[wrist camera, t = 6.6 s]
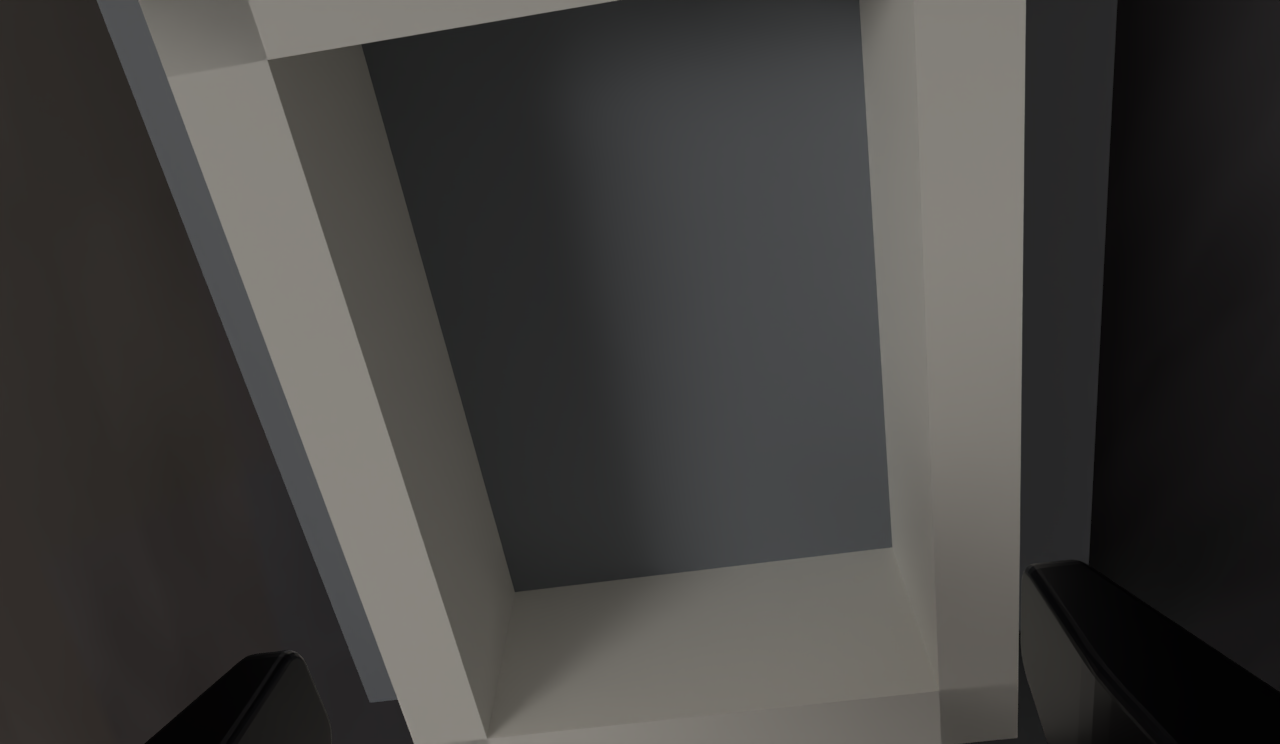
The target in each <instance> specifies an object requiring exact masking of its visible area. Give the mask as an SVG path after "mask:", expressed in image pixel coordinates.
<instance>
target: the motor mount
mask: <svg viewBox="0 0 1280 744" xmlns="http://www.w3.org/2000/svg"><path fill="white" fill-rule="evenodd" d="M97 2H98V5H99V8H100V10H101V13H102V15H103V18H104V20H105V23H106V26H107V28H108V31H109V33H110V36H111V38H112V41H113V44H114V46H115V49H116V51H117V54H118V56H119V59H120V62H121V64H122V67H123V69H124V72H125V74H126V77H127V80H128V82H129V85H130V87H131V90H132V92H133V95H134V98H135V100H136V103H137V105H138V108H139V110H140V113H141V115H142V118H143V121H144V123H145V126H146V128H147V131H148V133H149V136H150V139H151V141H152V144H153V146H154V149H155V151H156V154H157V157H158V159H159V162H160V164H161V167H162V169H163V172H164V175H165V177H166V180H167V182H168V185H169V187H170V190H171V193H172V195H173V198H174V200H175V203H176V205H177V208H178V211H179V213H180V216H181V218H182V221H183V223H184V226H185V229H186V231H187V234H188V236H189V239H190V241H191V244H192V247H193V249H194V252H195V254H196V257H197V259H198V262H199V265H200V267H201V270H202V272H203V275H204V277H205V280H206V283H207V285H208V288H209V290H210V293H211V295H212V298H213V301H214V303H215V306H216V308H217V311H218V313H219V316H220V319H221V321H222V324H223V326H224V329H225V331H226V334H227V337H228V339H229V342H230V344H231V347H232V349H233V352H234V355H235V357H236V360H237V362H238V365H239V367H240V370H241V373H242V375H243V378H244V380H245V383H246V385H247V388H248V391H249V393H250V396H251V398H252V401H253V403H254V406H255V409H256V411H257V414H258V416H259V419H260V421H261V424H262V427H263V429H264V432H265V434H266V437H267V439H268V442H269V445H270V447H271V450H272V452H273V455H274V457H275V460H276V462H277V465H278V468H279V470H280V473H281V475H282V478H283V480H284V483H285V486H286V488H287V491H288V493H289V496H290V498H291V501H292V504H293V506H294V509H295V511H296V514H297V516H298V519H299V522H300V524H301V527H302V529H303V532H304V534H305V537H306V540H307V542H308V545H309V547H310V550H311V552H312V555H313V558H314V560H315V563H316V565H317V568H318V570H319V573H320V576H321V578H322V581H323V583H324V586H325V588H326V591H327V594H328V596H329V599H330V601H331V604H332V606H333V609H334V612H335V614H336V617H337V619H338V622H339V624H340V627H341V630H342V632H343V635H344V637H345V640H346V642H347V645H348V648H349V650H350V653H351V655H352V658H353V660H354V663H355V666H356V668H357V671H358V673H359V676H360V678H361V681H362V684H363V686H364V689H365V691H366V694H367V696H368V699H369V702H379V701H388V700H397V699H398V701H399V704H400V707H401V710H402V712H403V715H404V718H405V720H406V723H407V726H408V728H409V731H410V734H411V736H412V739H413V742H414V744H962V743H971V742H981V741H991V740H1001V739H1011V738H1018V656H1019V631H1021V581H1022V575H1023V572H1024V569H1026V568H1027V567H1028V566H1029V565H1030V564H1034V563H1043V562H1052V561H1060V560H1069V559H1073V560H1079V561H1082V562H1084V563H1086V564H1088V565H1089V550H1090V530H1091V510H1092V491H1093V471H1094V451H1095V431H1096V412H1097V392H1098V372H1099V352H1100V333H1101V313H1102V293H1103V273H1104V254H1105V234H1106V214H1107V195H1108V175H1109V155H1110V135H1111V116H1112V96H1113V76H1114V56H1115V37H1116V17H1117V0H97Z"/></svg>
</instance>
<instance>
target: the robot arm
mask: <svg viewBox="0 0 1280 744" xmlns="http://www.w3.org/2000/svg"><path fill="white" fill-rule="evenodd" d="M1021 653H1022V659H1023V665H1024V669H1025V673H1026V676H1027V680H1028V683H1029V686H1030V689H1031V692H1032V696H1033V699H1034V702H1035V705H1036V708H1037V711H1038V715H1039V718H1040V721H1041V724H1042V727H1043V730H1044V734H1045V737H1046V740H1047V743H1048V744H1280V692H1279V691H1277V690H1276V689H1274V688H1273V687H1271V686H1270V685H1268V684H1267V683H1265V682H1264V681H1262V680H1261V679H1259V678H1258V677H1256V676H1255V675H1253V674H1252V673H1250V672H1249V671H1247V670H1246V669H1244V668H1243V667H1241V666H1240V665H1238V664H1237V663H1235V662H1234V661H1232V660H1231V659H1229V658H1228V657H1226V656H1225V655H1223V654H1222V653H1220V652H1219V651H1217V650H1216V649H1214V648H1213V647H1211V646H1210V645H1208V644H1207V643H1205V642H1204V641H1202V640H1201V639H1199V638H1197V637H1196V636H1194V635H1193V634H1191V633H1190V632H1188V631H1187V630H1185V629H1184V628H1182V627H1181V626H1179V625H1178V624H1176V623H1175V622H1173V621H1172V620H1170V619H1169V618H1167V617H1166V616H1164V615H1163V614H1161V613H1160V612H1158V611H1157V610H1155V609H1154V608H1152V607H1151V606H1149V605H1148V604H1146V603H1145V602H1143V601H1142V600H1140V599H1139V598H1137V597H1136V596H1134V595H1133V594H1131V593H1130V592H1128V591H1127V590H1125V589H1124V588H1122V587H1121V586H1119V585H1118V584H1116V583H1115V582H1113V581H1112V580H1110V579H1109V578H1107V577H1106V576H1104V575H1103V574H1101V573H1100V572H1098V571H1097V570H1095V569H1094V568H1092V567H1091V566H1089V565H1088V564H1086V563H1084V562H1082V561H1079V560H1073V559H1069V560H1060V561H1052V562H1043V563H1034V564H1030V565H1029V566H1028V567H1027V568H1026V569H1024V572H1023V575H1022V581H1021ZM145 744H332V732H331V725H330V721H329V718H328V715H327V713H326V710H325V708H324V706H323V703H322V701H321V698H320V696H319V694H318V691H317V689H316V686H315V684H314V682H313V679H312V677H311V675H310V672H309V670H308V667H307V665H306V663H305V661H304V659H303V658H302V657H301V656H300V655H299V654H298V653H297V652H294V651H291V650H285V651H277V652H268V653H259V654H254V655H250V656H247V657H245V658H244V659H242V660H241V661H240V662H238V663H237V664H236V665H235V666H234V667H233V668H231V669H230V670H229V671H228V672H227V673H226V674H225V675H223V676H222V677H221V678H220V679H219V680H218V681H216V682H215V683H214V684H213V685H212V686H211V687H209V688H208V689H207V690H206V691H205V692H204V693H203V694H201V695H200V696H199V697H198V698H197V699H196V700H194V701H193V702H192V703H191V704H190V705H189V706H187V707H186V708H185V709H184V710H183V711H182V712H181V713H179V714H178V715H177V716H176V717H175V718H174V719H172V720H171V721H170V722H169V723H168V724H167V725H166V726H164V727H163V728H162V729H161V730H160V731H159V732H157V733H156V734H155V735H154V736H153V737H152V738H150V739H149V740H148V741H147V742H146V743H145Z"/></svg>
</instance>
